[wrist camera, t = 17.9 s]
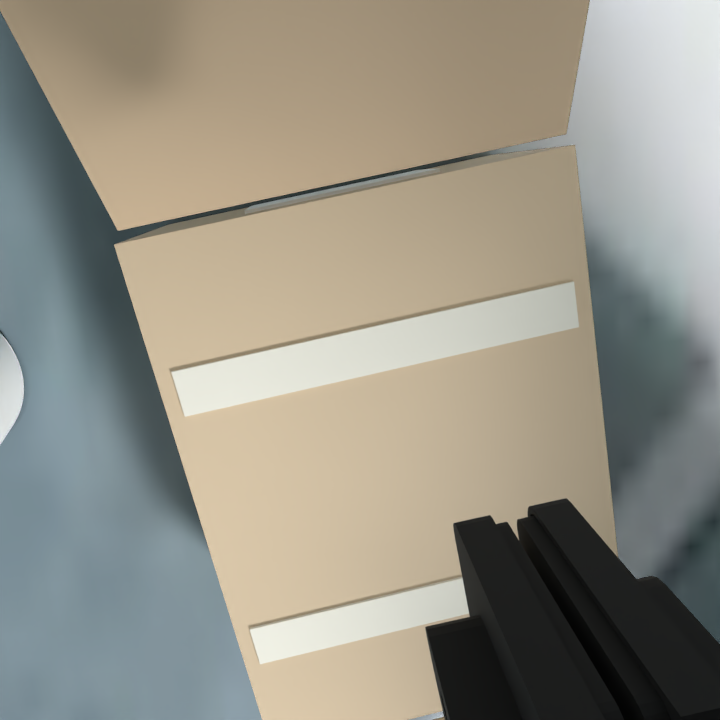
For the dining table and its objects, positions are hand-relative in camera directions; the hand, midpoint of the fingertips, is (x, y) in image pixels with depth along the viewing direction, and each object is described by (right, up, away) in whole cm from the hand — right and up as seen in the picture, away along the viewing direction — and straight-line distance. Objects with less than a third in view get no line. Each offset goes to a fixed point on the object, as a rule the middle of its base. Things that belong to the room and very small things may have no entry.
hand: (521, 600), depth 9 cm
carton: (-2, +2, +19) cm, 19 cm away
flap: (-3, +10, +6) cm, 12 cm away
